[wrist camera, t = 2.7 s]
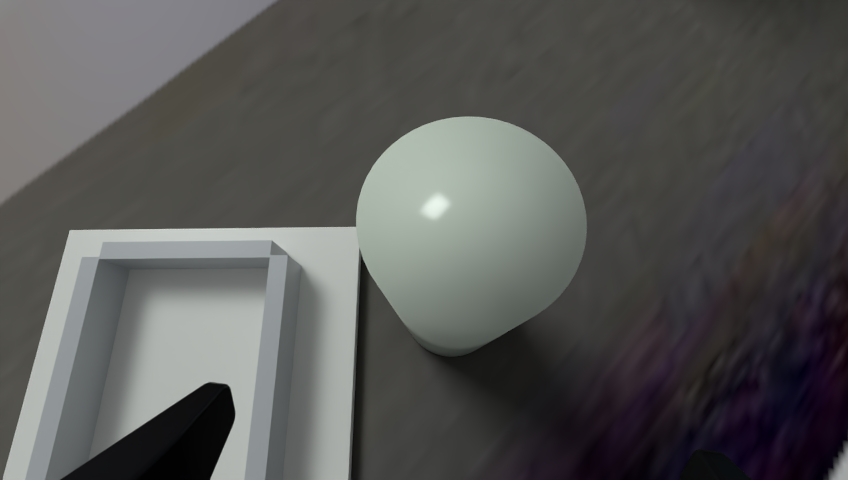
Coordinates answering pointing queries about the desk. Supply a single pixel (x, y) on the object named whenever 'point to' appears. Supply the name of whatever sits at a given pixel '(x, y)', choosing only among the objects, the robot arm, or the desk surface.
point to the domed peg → (470, 230)
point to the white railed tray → (199, 347)
